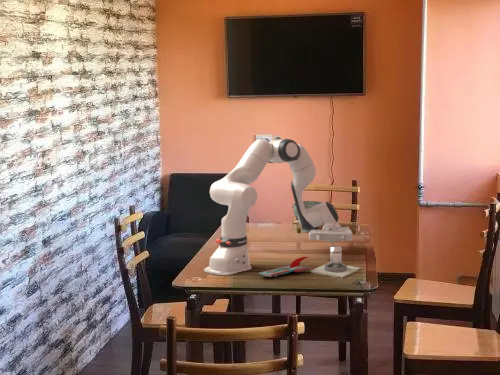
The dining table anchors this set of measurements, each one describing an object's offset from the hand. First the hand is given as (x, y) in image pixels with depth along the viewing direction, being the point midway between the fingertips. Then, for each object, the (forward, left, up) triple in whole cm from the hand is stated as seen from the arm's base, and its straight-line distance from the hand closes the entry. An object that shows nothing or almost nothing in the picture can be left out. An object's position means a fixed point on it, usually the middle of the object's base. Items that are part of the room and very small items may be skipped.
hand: (330, 239), depth 333 cm
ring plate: (-11, -9, -11) cm, 18 cm away
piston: (-10, -9, -10) cm, 17 cm away
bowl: (+50, +42, -11) cm, 67 cm away
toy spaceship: (-27, +7, -11) cm, 30 cm away
